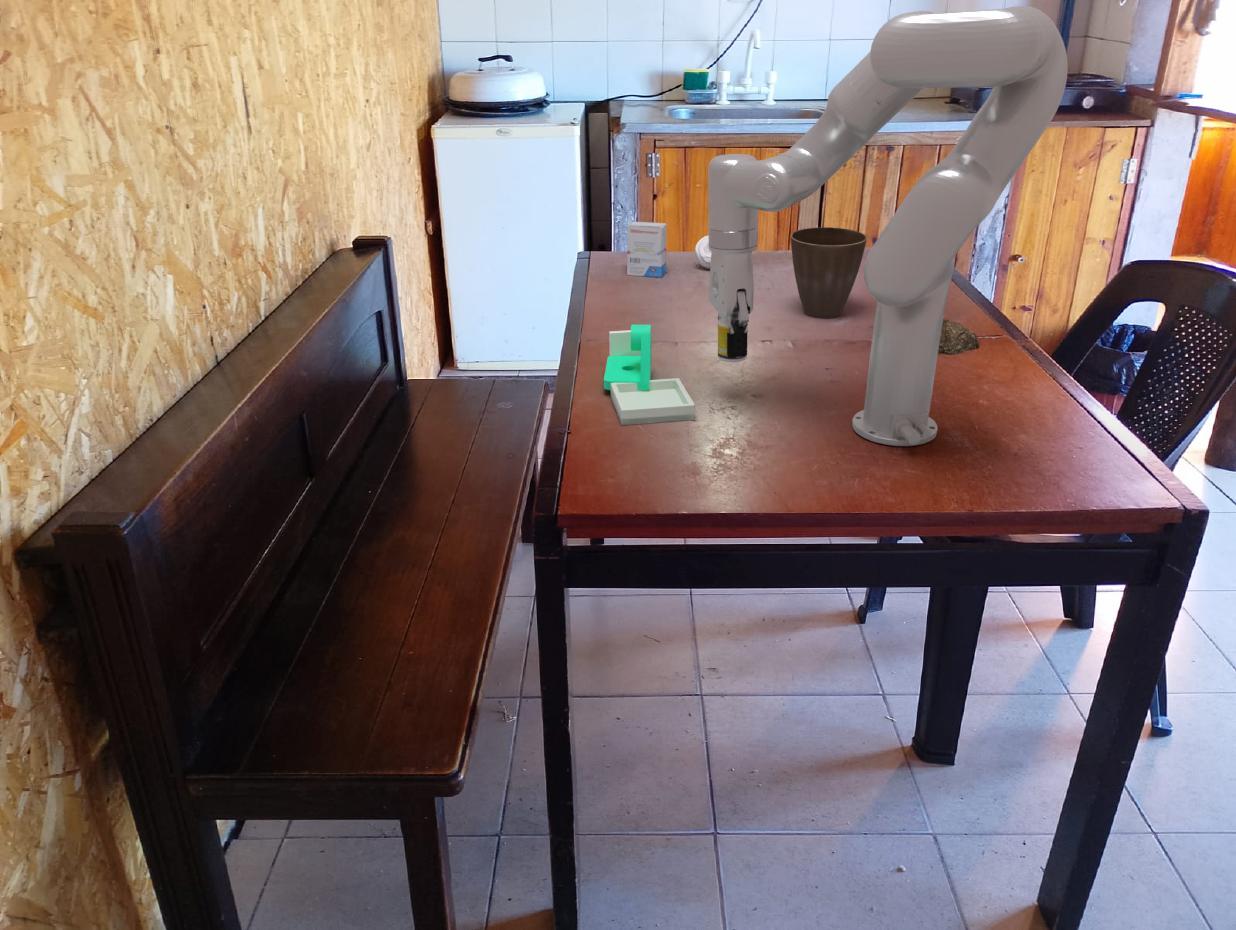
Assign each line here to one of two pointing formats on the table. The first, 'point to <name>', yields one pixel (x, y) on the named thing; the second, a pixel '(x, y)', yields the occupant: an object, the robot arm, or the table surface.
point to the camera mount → (632, 361)
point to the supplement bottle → (725, 340)
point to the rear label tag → (621, 344)
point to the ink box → (646, 249)
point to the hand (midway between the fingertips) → (732, 349)
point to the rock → (956, 338)
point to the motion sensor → (703, 252)
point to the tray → (652, 402)
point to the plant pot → (826, 267)
